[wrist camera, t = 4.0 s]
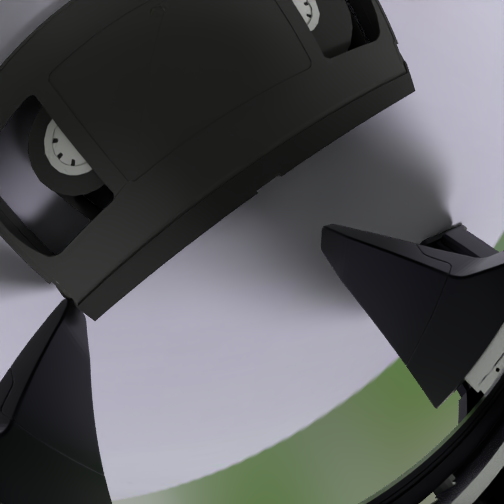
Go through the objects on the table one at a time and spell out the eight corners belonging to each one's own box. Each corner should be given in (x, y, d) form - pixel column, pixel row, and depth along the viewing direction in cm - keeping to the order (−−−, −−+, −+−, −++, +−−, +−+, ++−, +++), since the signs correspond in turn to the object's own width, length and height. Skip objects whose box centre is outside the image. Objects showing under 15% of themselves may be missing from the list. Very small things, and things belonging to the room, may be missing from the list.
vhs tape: (296, -63, 4) (324, -81, 3) (380, 86, 9) (415, 91, 8) (-29, 144, 5) (-59, 157, 3) (99, 285, 9) (95, 321, 8)
